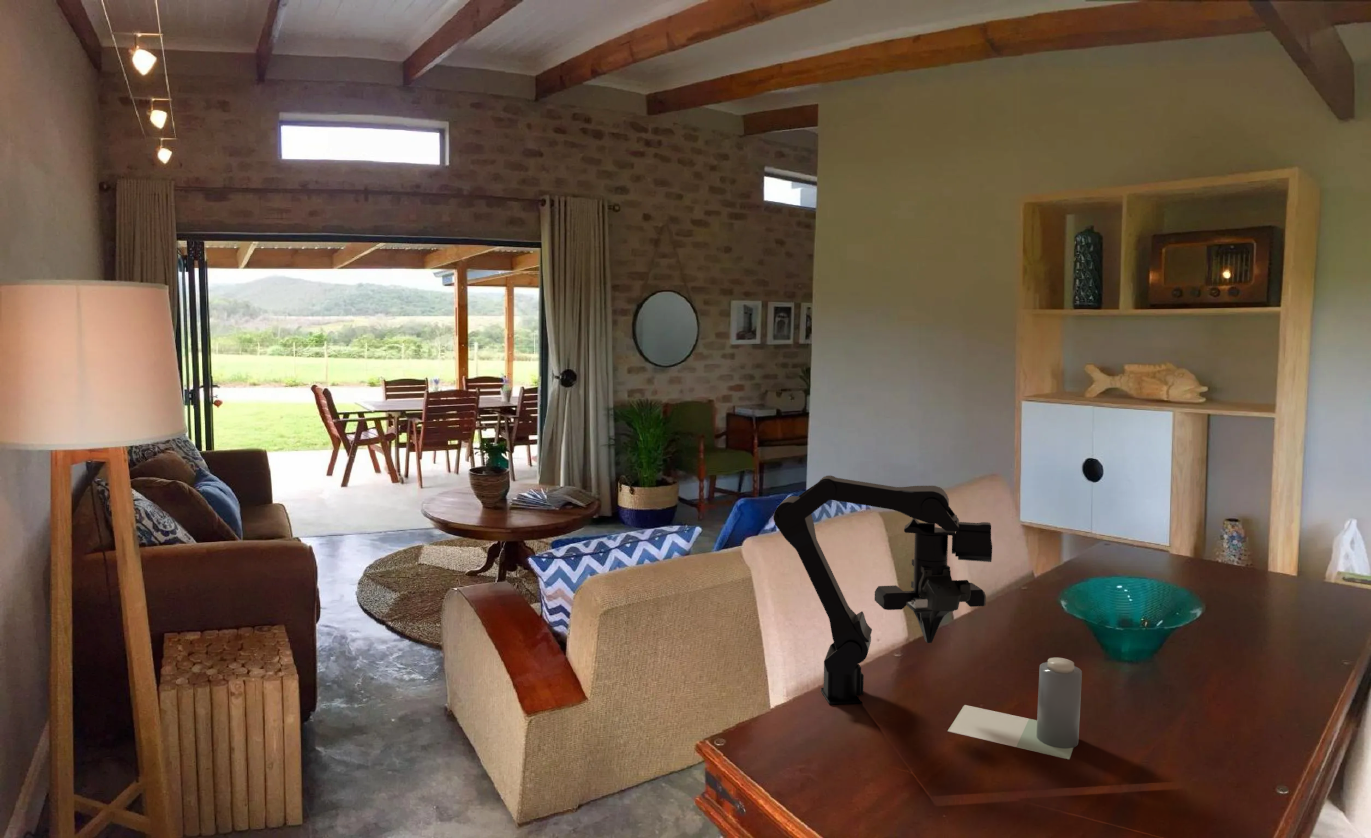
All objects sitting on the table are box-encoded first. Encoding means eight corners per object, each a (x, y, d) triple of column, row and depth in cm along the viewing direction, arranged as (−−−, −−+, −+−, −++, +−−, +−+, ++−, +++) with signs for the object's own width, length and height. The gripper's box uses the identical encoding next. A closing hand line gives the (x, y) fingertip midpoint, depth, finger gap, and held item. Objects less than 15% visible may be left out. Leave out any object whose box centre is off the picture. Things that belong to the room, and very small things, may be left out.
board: (947, 735, 149) (947, 730, 149) (964, 709, 159) (964, 704, 159) (1069, 763, 139) (1069, 759, 139) (1078, 733, 149) (1079, 729, 149)
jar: (1049, 749, 142) (1052, 670, 141) (1029, 731, 148) (1032, 655, 147) (1086, 747, 143) (1090, 668, 142) (1064, 729, 149) (1068, 654, 148)
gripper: (895, 571, 148) (893, 661, 150) (1001, 568, 150) (998, 656, 152) (874, 554, 159) (872, 638, 161) (973, 551, 161) (970, 634, 163)
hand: (928, 642), depth 159 cm, fingers closed
